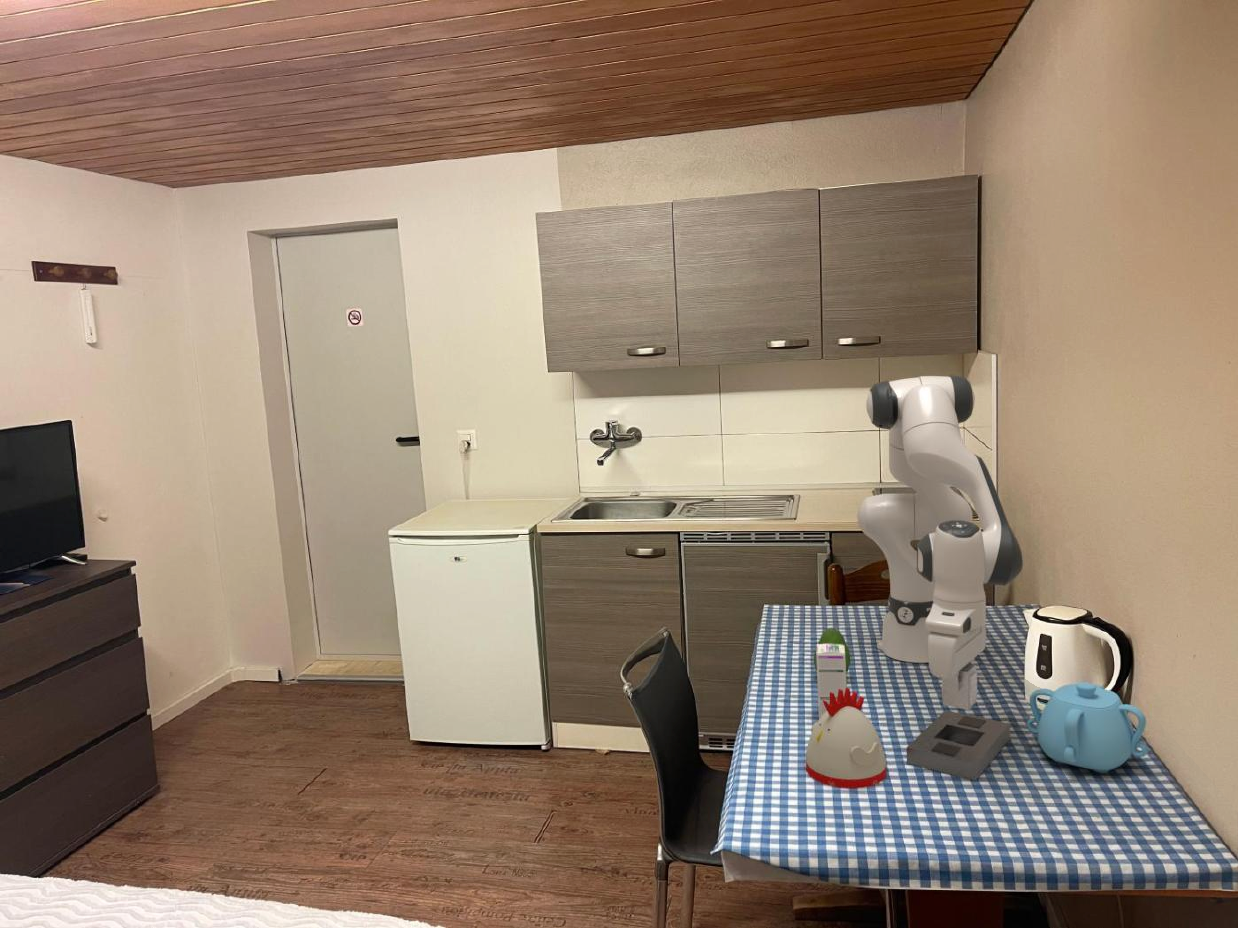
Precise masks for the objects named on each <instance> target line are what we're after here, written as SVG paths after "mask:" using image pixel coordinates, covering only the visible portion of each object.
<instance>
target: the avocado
mask: <svg viewBox="0 0 1238 928" xmlns="http://www.w3.org/2000/svg"><path fill="white" fill-rule="evenodd" d="M817 644H843V645H844V646H845V660H846V674H847V673H848V672H849V669H850V665H851V654H850V649H849V647H848V645H847V642H846V639H845V637H844V635H843V634H842V633H841V632H840V631H839V630H837V629H835V628H831V627H830V628H827V629H825V630H824V631H823V632H822V634H821V636H820V638H819V639H818V642H817ZM816 649H817V646H816V647H815V650H814V654H813V655H814V656H813V664H814V668H815V670H816V672H817V658H816Z"/></svg>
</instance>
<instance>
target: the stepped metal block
mask: <svg viewBox="0 0 1238 928" xmlns="http://www.w3.org/2000/svg"><path fill="white" fill-rule="evenodd" d="M958 681H959V682H960V690H959V691H958V693H956V694H955V693H949V692H948V690H947V681H946V678H943V677H941V698H942V705H943V706H946V707H947V706H948V707H952V708H956V709H961V710H965V711H969V710H970V709H971V708H972V707H973V706H974V705H975V704H976V703H977V699H978V671H977V664H974V663H973V664H969V663H968V664H967V665H966V666H964V667H963V668H962V669H961V670H960V671H959V675H958Z"/></svg>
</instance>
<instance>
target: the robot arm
mask: <svg viewBox="0 0 1238 928" xmlns="http://www.w3.org/2000/svg"><path fill="white" fill-rule="evenodd" d="M975 397H976V395H975V392H974V389H973V387H972V385H971V382H970V381H969V380H968V379H967V378H966V377H964V376H960V375H954V374H953V375H952V374H950V375H949V376H946V375H945V376H944V375H942V376H940V375H939V376H938V375H921V376H918V377H910V378H902V379H897V380H890V381H889V380H884V381H880V382H876V383H874V384H873V385H872V386H871V388H870V389H869V393H868V395H867V397H866V398H867V399H866V406H865V407H866V413H867V415H868V417H869V419H870V422H871V424H872V425H873V426H875V427H876V428H878V429H881V430H888V431H889V432H888V463H889V464H888V467H889V471H890V474H891V476H892V477H893V478H894V479H895V480H896V481H898V482H899V483H900V484H903V485H905V486H907V487H909V488H912V490H914V491H915V493H880V494H877V495H871V496H867V497H865V498H864V499H863V500H862V502H861V503H860V504H859V507H858V509H857V514H856V515H857V523H858V525H859V526H858V527H859V528H860V530H861V531H862V533H863V534H864V535H865V536H867V537H868V538H869V539H871V540H872V541H874V543H876V545H877V546H878V547H879V548H880V550H881V551H882V552H883V555H884V557H885V559H886V561H887V565H888V571H889V583H890V584H889V585H890V587H889V588H890V591H889V592H890V594H889V595H888V601H887V605H888V612H887V613H886V614H885V615H884V616H883V620H882V623H883V624H882V635H881V637H882V638H881V641H879V642H877V644H876V648H877V649H879V650H880V651H882V652H883V653H884V655H885V656H887V657H889V658H892V659H894V660H897V661H900V662H907V663H916V664H917V663H918V664H919V663H921V664H922V663H925V664H926V663H928V667H929V670H930V673H931V675H933V677H938V678H942V677H943V678H946V681H947V690H948V692H949V693H955V694H956V693H958V691H959V690H960V682H959V681H958V675H959V671H960V670H961V669H962V668H963V667H964V666H966V665H967V664H968V663H969V664H974V663H975V662H974V661H975V659H976V657H977V656H978V655H980V654H981V652H983V651H984V650H985V648H986V644H987V629H986V618H987V616H986V611H987V610H986V603H987V601H986V600H987V599H986V597H987V596H986V593H985V589H984V584H985V585H991V586H992V585H993V586H994V585H995V586H1006V585H1008V584H1010V583H1011V582H1013V581H1014V580H1015V579H1016V578H1017V577H1018V576H1019V574H1020V573H1021V572H1022V570H1023V566H1024V565H1023V561H1024V560H1023V552H1022V549H1021V547H1020V544H1019V542H1018V540H1017V537H1016V536H1015V534H1014V532H1013V530H1012V528H1011V526H1010V524H1009V522H1008V521H1009V520H1008V518H1007V516H1006V513H1005V511H1004V508H1003V506H1002V502H1001V500H1000V497H999V494H998V492H997V489H996V487H995V484H994V481H993V479H992V476H991V474H990V471H989V470H988V467H987V465H986V463H985V461H984V460H983V458H982V457H981V456H978V455H976V454H974V453H973V452H972V450H970V449H969V447H968V446H967V445H966V443H965V442H964V440H963V438H962V435H961V430H960V425H959V424H962V423H965V422H966V421H968V420H969V419H970V418H971V416H972V414H973V412H974V411H973V410H974V408H975V403H976V398H975ZM951 487H953V488H955V489H957V490H960V491H961V492H963V493H965V494H966V495H967V496H968V497H969V498H970V500H971V501H972V503H973V506H974V509H975V511H976V514H977V517H978V520H979V522H980V526H981V528H980V526H978V525H977V524H975V523H973V511H972V508H971V506H970V504H969V502H968V501H967V500H966V499H965V498H964V496H961V495H960V494H958V493H956V492H955V491H954V490H953V489H952V488H951ZM912 541H918V542H917V544H916V549H915V548H914V547H912V545H911V542H912Z"/></svg>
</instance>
